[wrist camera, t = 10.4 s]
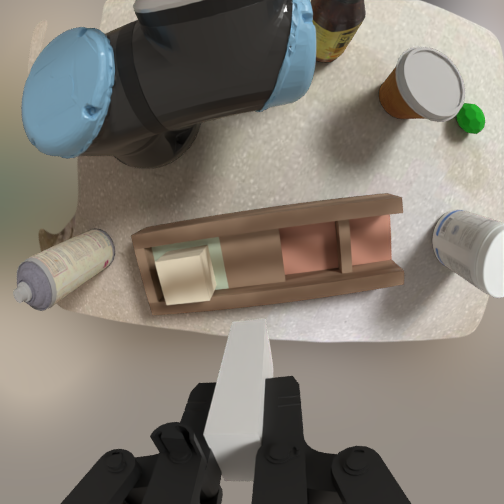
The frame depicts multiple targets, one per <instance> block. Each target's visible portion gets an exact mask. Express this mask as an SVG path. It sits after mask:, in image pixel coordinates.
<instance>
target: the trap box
mask: <svg viewBox="0 0 504 504" xmlns="http://www.w3.org/2000/svg"><path fill="white" fill-rule="evenodd" d="M397 213H403V204H402V197H398V196H395V195H392V194H388V193H385V194H375V195H365V196H356V197H347V198H338V199H330V200H322V201H313V202H306V203H298V204H290V205H283V206H276V207H268V208H261V209H254V210H248V211H241V212H234V213H228V214H221V215H215V216H209V217H203V218H197V219H191V220H185V221H179V222H173V223H167V224H162V225H156V226H151V227H146V228H144V229H142V230H140V231H139V232H137V233H135V234H133V235H131V238H132V242H133V246H134V250H135V254H136V258H137V262H138V266H139V270H140V274H141V277H142V281H143V284H144V288H145V292H146V295H147V298H148V302H149V305H150V308H151V312H152V315H165V314H178V313H190V312H202V311H213V310H223V309H233V308H242V307H252V306H260V305H269V304H277V303H285V302H293V301H301V300H308V299H315V298H322V297H329V296H336V295H343V294H349V293H356V292H362V291H368V290H374V289H380V288H386V287H392V286H397V285H403V284H404V270H403V269H402V268H400V267H399V266H398V265H397V264H396V263H395V262H394V261H393V260H391V228H390V214H397ZM203 245H208V248H209V253H210V257H211V262H212V266H213V271H214V275H215V280H216V284H217V286H216V288H215V290H214V293H213V295H212V297H211V299H210V301H202V302H192V303H183V304H173V305H167V304H166V301H165V298H164V294H163V291H162V287H161V284H160V280H159V276H158V273H157V269H156V265H155V261H157V260H158V259H159V258H160V257H161V256H162V255H164V254H165V253H166V252H167V251H171V250H178V249H184V248H190V247H196V246H203Z"/></svg>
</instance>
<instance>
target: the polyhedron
mask: <svg viewBox="0 0 504 504" xmlns="http://www.w3.org/2000/svg"><path fill="white" fill-rule="evenodd" d="M457 122H458V124H459V126H460V127H461V128H462V129H463V130H464V131H466V132H467V133H473V134H477V133H479V132H480V131H481V130H482V129H483V128H484V125H485V117H484V114H483V112H482V110H481V109H480V108H479V107H478V106H477V105H475V104H468V103H464V104H463V106H462V107H461V109H460V110H459V112H458V113H457Z"/></svg>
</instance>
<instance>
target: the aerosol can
mask: <svg viewBox="0 0 504 504" xmlns="http://www.w3.org/2000/svg"><path fill="white" fill-rule="evenodd" d="M114 256H115V247H114V244H113V241H112V240H111V238H110V236H109V235H108V234H107V233H106V232H104V231H102V230H100V229H92V230H89V231H87V232H84V233H82V234H80V235H78V236H75V237H73V238H71V239H68V240H66V241H64V242H62V243H59V244H57V245H55V246H53V247H51V248H49V249H46V250H44V251H42V252H40V253H38V254H36V255H34V256H32V257H30V258H28V259H26V260H25V261H24V262H22V263H21V264H20V265H19V267H18V270H17V288H16V289H15V290H14V292H13V294H14V298H15V299H16V301H17V302H19V303H21V302H23V301H24V302H26V303H27V304H29V305H30V306H31V307H33V308H34V309H36V310H40V311H42V310H46V309H47V308H50V307H52V306H53V305H54V304H56V303H57V302H59V301H60V300H61V299H63V298H64V297H65V296H67V295H68V294H69V293H71V292H72V291H74V290H75V289H76V288H78V287H79V286H81V285H82V284H83V283H85V282H86V281H88V280H89V279H90V278H92V277H93V276H95V275H96V274H98V273H99V272H100V271H102V270H103V269H105V268H106V267H108V266H109V265H110V264H111V263H112V261H113V260H114Z"/></svg>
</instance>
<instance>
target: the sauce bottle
mask: <svg viewBox="0 0 504 504" xmlns="http://www.w3.org/2000/svg"><path fill="white" fill-rule="evenodd" d="M311 6H312V11H313V20H312V23H313V25H315V29H316V61H320V62H330V61H333V60H335V59H336V58H338V57H339V56H340V55H341V54H342V53H343V52H344V50H345V49H346V47H347V46H348V44H349V43H350V41H351V40H352V38H353V36H354V35H355V33H356V32H357V30H358V28H359V27H360V25H361V24H362V22H363V20H364V18H365V5H364V0H311Z"/></svg>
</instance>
